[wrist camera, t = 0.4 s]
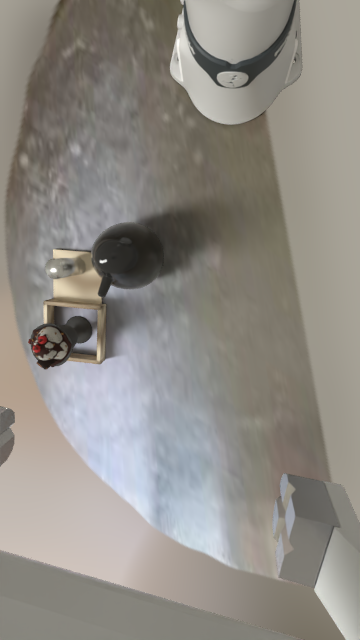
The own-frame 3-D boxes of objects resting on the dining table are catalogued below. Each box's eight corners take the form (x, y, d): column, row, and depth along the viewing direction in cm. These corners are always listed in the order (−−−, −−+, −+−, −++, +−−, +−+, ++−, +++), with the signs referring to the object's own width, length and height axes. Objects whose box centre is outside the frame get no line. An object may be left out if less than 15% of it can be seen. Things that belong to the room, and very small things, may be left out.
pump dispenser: (101, 276, 58) (60, 286, 43) (116, 216, 55) (78, 204, 41) (157, 295, 57) (134, 311, 43) (175, 235, 55) (158, 230, 40)
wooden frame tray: (50, 249, 58) (21, 249, 50) (107, 253, 57) (88, 254, 49) (51, 353, 62) (25, 369, 54) (104, 359, 61) (86, 376, 53)
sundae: (77, 303, 59) (30, 321, 45) (103, 331, 60) (65, 357, 45) (53, 327, 61) (0, 352, 46) (79, 354, 61) (34, 387, 47)
